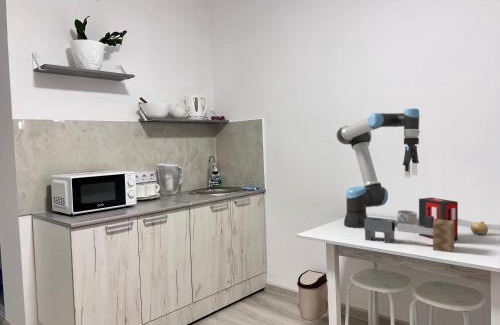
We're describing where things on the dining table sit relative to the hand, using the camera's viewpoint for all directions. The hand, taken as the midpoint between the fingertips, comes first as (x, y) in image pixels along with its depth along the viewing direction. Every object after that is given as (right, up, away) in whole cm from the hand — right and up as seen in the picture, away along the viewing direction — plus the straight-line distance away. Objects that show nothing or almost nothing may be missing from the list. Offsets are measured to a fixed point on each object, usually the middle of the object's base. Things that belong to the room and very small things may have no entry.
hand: (410, 176), depth 206 cm
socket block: (+4, -34, -27) cm, 43 cm away
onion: (+36, -32, -2) cm, 48 cm away
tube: (-4, -27, -21) cm, 35 cm away
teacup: (+7, -31, +24) cm, 39 cm away
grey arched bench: (-20, -33, -9) cm, 40 cm away
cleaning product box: (+11, -33, -7) cm, 35 cm away
